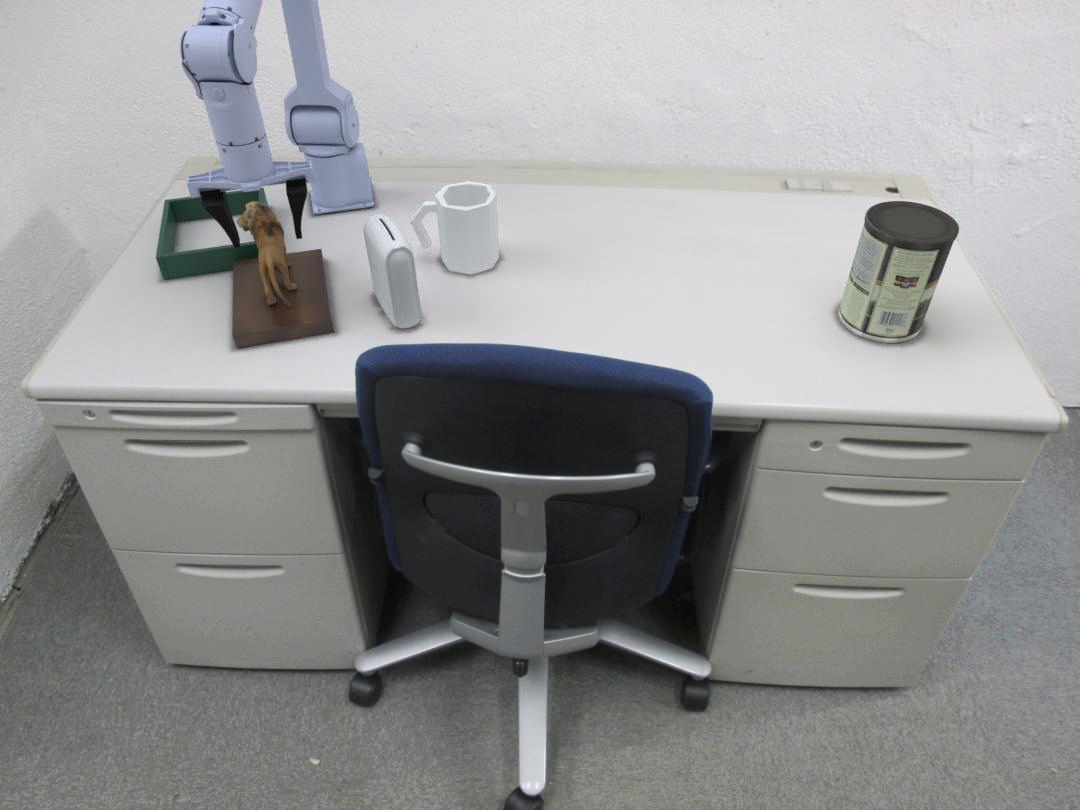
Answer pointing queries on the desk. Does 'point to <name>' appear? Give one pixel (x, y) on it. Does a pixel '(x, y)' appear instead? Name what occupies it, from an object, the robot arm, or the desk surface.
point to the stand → (281, 301)
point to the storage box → (207, 257)
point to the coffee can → (896, 270)
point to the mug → (463, 226)
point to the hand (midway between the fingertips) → (268, 239)
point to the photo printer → (392, 271)
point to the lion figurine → (268, 247)
